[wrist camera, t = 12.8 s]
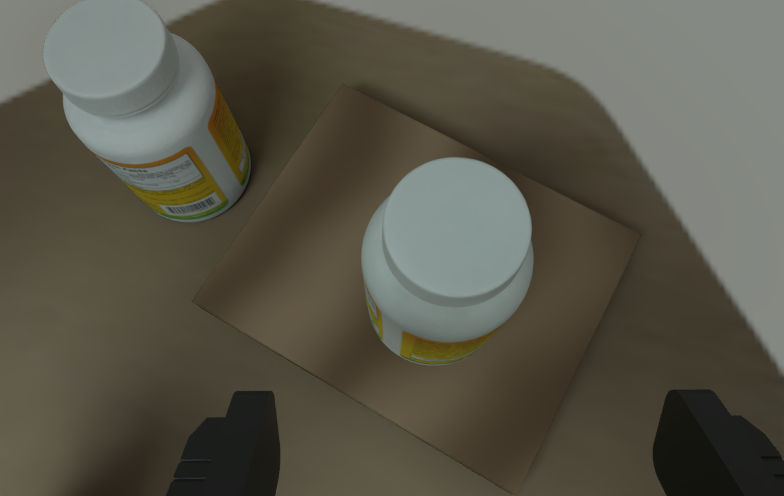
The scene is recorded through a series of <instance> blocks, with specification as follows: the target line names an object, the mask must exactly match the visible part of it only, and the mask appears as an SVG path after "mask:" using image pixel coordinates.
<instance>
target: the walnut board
mask: <svg viewBox="0 0 784 496" xmlns="http://www.w3.org/2000/svg"><path fill="white" fill-rule="evenodd" d="M448 157H460V158H469V159H474V160H478V161H481V162H484V163H486V164H489V165H491V166H493V167H494V168H496V169H498V170H499V171H501V172H502V173H504V174H505V175H506V176H507V177H508V178H509V179H510V180H512V182H513V183H514V184H515V185H516V186H517V188H518V189H519V190H520V192H521V193H522V195H523V197H524V199H525V201H526V203H527V206H528V209H529V212H530V216H531V224H532V235H531V241H532V247H533V255H534V263H533V273H532V278H531V282H530V285H529V288H528V291H527V293H526V295H525V297H524V299H523V301H522V302H521V304H520V305H519V307H518V308H517V310H516V311H515V312H514V314H513V315H512V316H511V317H510V318H509V319H508V320H507V321H506V322H505V323H504V324H503V325H502V326H501V327H500V328H499V329H498V330H497V331H496V332H495V333H494V334H493V335H492V336H491V338H490V339H489V340H488V341H487V342H486V343H485V344H484V345H483V346H482V347H481V348H480V349H479V350H478V351H476V352H475V353H473V354H472V355H471V356H469V357H467V358H465V359H463V360H461V361H458V362H455V363H452V364H447V365H435V366H432V365H422V364H417V363H414V362H411V361H408V360H406V359H404V358H402V357H400V356H399V355H397V354H395V353H394V352H393V351H391V350H390V349H389V348H388V347H387V346H386V345H385V344H384V343H383V342H382V340H381V339H380V338H379V336H378V335H377V333H376V331H375V329H374V327H373V325H372V322H371V319H370V316H369V312H368V307H367V302H366V294H365V287H364V280H363V274H362V264H361V250H362V243H363V238H364V235H365V232H366V229H367V226H368V224H369V222H370V220H371V218H372V216H373V214H374V213H375V211H376V210H377V209H378V207H379V206H380V205H381V204H382V203H383V202H384V200H385V199H386V198H388V197H389V196H390V195H391V193H392V191H393V190H394V188H395V187H396V186H397V184H398V183H399V182H400V181H401V180H402V179H403V178H404V177H405V176H406V175H407V174H408V173H410V172H411V171H412V170H414V169H415V168H417V167H419V166H421V165H423V164H425V163H427V162H430V161H433V160H436V159H441V158H448ZM640 237H641V235H640V234H638V233H636V232H634V231H632V230H630V229H628V228H627V227H625V226H623V225H621V224H619V223H617V222H615V221H613V220H611V219H609V218H607V217H605V216H603V215H601V214H599V213H597V212H595V211H593V210H591V209H589V208H587V207H585V206H583V205H581V204H579V203H577V202H575V201H573V200H571V199H569V198H567V197H565V196H563V195H562V194H560V193H558V192H556V191H554V190H552V189H550V188H548V187H546V186H544V185H542V184H540V183H538V182H536V181H534V180H532V179H530V178H528V177H526V176H524V175H522V174H520V173H518V172H516V171H514V170H512V169H510V168H508V167H506V166H504V165H502V164H500V163H498V162H497V161H495V160H493V159H491V158H489V157H487V156H485V155H483V154H481V153H479V152H477V151H475V150H473V149H471V148H469V147H467V146H465V145H463V144H461V143H459V142H457V141H455V140H453V139H451V138H449V137H447V136H445V135H443V134H441V133H439V132H437V131H435V130H433V129H432V128H430V127H428V126H426V125H424V124H422V123H420V122H418V121H416V120H414V119H412V118H410V117H408V116H406V115H404V114H402V113H400V112H398V111H396V110H394V109H392V108H390V107H388V106H386V105H384V104H382V103H380V102H378V101H376V100H374V99H372V98H370V97H368V96H367V95H365V94H363V93H361V92H359V91H357V90H355V89H353V88H351V87H349V86H347V85H345V84H342V85H341V87H340V88H339V90H338V91H337V92H336V94H335V95H334V97H333V98H332V100H331V101H330V103H329V104H328V105H327V107H326V108H325V110H324V111H323V113H322V114H321V116H320V117H319V118H318V120H317V121H316V123H315V124H314V126H313V127H312V129H311V130H310V131H309V133H308V134H307V136H306V137H305V139H304V140H303V142H302V143H301V144H300V146H299V147H298V149H297V150H296V152H295V153H294V155H293V156H292V157H291V159H290V160H289V162H288V163H287V165H286V166H285V168H284V169H283V170H282V172H281V173H280V175H279V176H278V178H277V179H276V181H275V182H274V183H273V185H272V186H271V188H270V189H269V191H268V192H267V194H266V195H265V196H264V198H263V199H262V201H261V202H260V204H259V205H258V207H257V208H256V209H255V211H254V212H253V214H252V215H251V217H250V218H249V220H248V221H247V222H246V224H245V225H244V227H243V228H242V230H241V231H240V233H239V234H238V235H237V237H236V238H235V240H234V241H233V243H232V244H231V246H230V247H229V248H228V250H227V251H226V253H225V254H224V256H223V257H222V259H221V260H220V261H219V263H218V264H217V266H216V267H215V269H214V270H213V272H212V273H211V274H210V276H209V277H208V279H207V280H206V282H205V283H204V285H203V286H202V287H201V289H200V290H199V292H198V293H197V295H196V296H195V298H194V299H193V300H192V302H194V303H195V304H196V305H198V306H199V307H200V308H202V309H203V310H205V311H207V312H208V313H210V314H212V315H213V316H215V317H217V318H218V319H220V320H222V321H223V322H225V323H227V324H228V325H230V326H232V327H233V328H235V329H237V330H238V331H240V332H242V333H243V334H245V335H247V336H248V337H250V338H252V339H253V340H255V341H257V342H258V343H260V344H262V345H263V346H265V347H267V348H268V349H270V350H272V351H273V352H275V353H277V354H278V355H280V356H282V357H283V358H285V359H287V360H288V361H290V362H292V363H293V364H295V365H297V366H299V367H300V368H302V369H304V370H305V371H307V372H309V373H310V374H312V375H314V376H315V377H317V378H319V379H320V380H322V381H324V382H325V383H327V384H329V385H330V386H332V387H334V388H335V389H337V390H339V391H340V392H342V393H344V394H345V395H347V396H349V397H350V398H352V399H354V400H355V401H357V402H359V403H360V404H362V405H364V406H365V407H367V408H369V409H370V410H372V411H374V412H375V413H377V414H379V415H380V416H382V417H384V418H385V419H387V420H389V421H390V422H392V423H394V424H395V425H397V426H399V427H400V428H402V429H404V430H405V431H407V432H409V433H410V434H412V435H414V436H415V437H417V438H419V439H420V440H422V441H424V442H425V443H427V444H429V445H430V446H432V447H434V448H435V449H437V450H439V451H440V452H442V453H444V454H445V455H447V456H449V457H450V458H452V459H454V460H455V461H457V462H459V463H460V464H462V465H464V466H465V467H467V468H469V469H470V470H472V471H474V472H475V473H477V474H479V475H480V476H482V477H484V478H485V479H487V480H489V481H490V482H492V483H494V484H495V485H497V486H499V487H500V488H502V489H504V490H505V491H507V492H509V493H511V494H513V495H516V496H517V494H518V492H519V490H520V488H521V486H522V484H523V482H524V480H525V478H526V476H527V474H528V471H529V469H530V467H531V465H532V463H533V461H534V459H535V457H536V455H537V453H538V450H539V448H540V446H541V444H542V442H543V440H544V438H545V436H546V434H547V432H548V430H549V427H550V425H551V423H552V421H553V419H554V417H555V415H556V413H557V411H558V409H559V407H560V404H561V402H562V400H563V398H564V396H565V394H566V392H567V390H568V388H569V386H570V383H571V381H572V379H573V377H574V375H575V373H576V371H577V369H578V367H579V365H580V363H581V360H582V358H583V356H584V354H585V352H586V350H587V348H588V346H589V344H590V342H591V339H592V337H593V335H594V333H595V331H596V329H597V327H598V325H599V323H600V321H601V319H602V316H603V314H604V312H605V310H606V308H607V306H608V304H609V302H610V300H611V298H612V296H613V293H614V291H615V289H616V287H617V285H618V283H619V281H620V279H621V277H622V275H623V272H624V270H625V268H626V266H627V264H628V262H629V260H630V258H631V256H632V254H633V252H634V249H635V247H636V245H637V243H638V241H639V239H640Z"/></svg>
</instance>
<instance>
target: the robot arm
mask: <svg viewBox="0 0 784 496" xmlns="http://www.w3.org/2000/svg"><path fill="white" fill-rule="evenodd" d="M653 462H654V468H655V471H656V474H657V477H658V479H659V481H660V483H661V485H662V487H663V489H664V491H665V493H666V495H667V496H784V461H783V460H782V456H781V455H780V453H779V452H778V451H777V449H776V448H775V447H774V445H773V444H772V443H771V441H770V440H769V439H768V437H767V436H766V435H765V434H764V433H763V432H761V431H760V430H759V429H757V428H756V427H755V426H753V425H752V424H751V423H750V422H748V421H747V420H746V419H744V418H743V417H742V416H731V415H730V413H729V412H728V411H727V409H726V408H725V406H724V405H723V404H722V402H721V401H720V399H719V398H718V397H717V395H716V394H715V393H714V392H713V391H711V390H671V391H669V392H668V394H667V396H666V398H665V402H664V406H663V410H662V414H661V418H660V421H659V425H658V429H657V433H656V437H655V441H654V445H653ZM279 470H280V442H279V434H278V425H277V416H276V407H275V399H274V394H273V392H272V391H236V392H235V393H234V394H233V397H232V399H231V402H230V405H229V408H228V411H227V414H226V417H216V418H206V419H205V421H204V422H203V423H202V424H201V425H200V426H199V427H198V428H197V429H196V430H195V431H194V432H193V433H192V434H191V435H190V436H189V439H188V441H187V444H186V446H185V449H184V451H183V454H182V457H181V462H180V463H179V464H178V467H177V469H176V472H175V474H174V479H173V482H171V484H170V487H169V490H168V492H167V495H166V496H275V493H276V488H277V483H278V478H279Z"/></svg>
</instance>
